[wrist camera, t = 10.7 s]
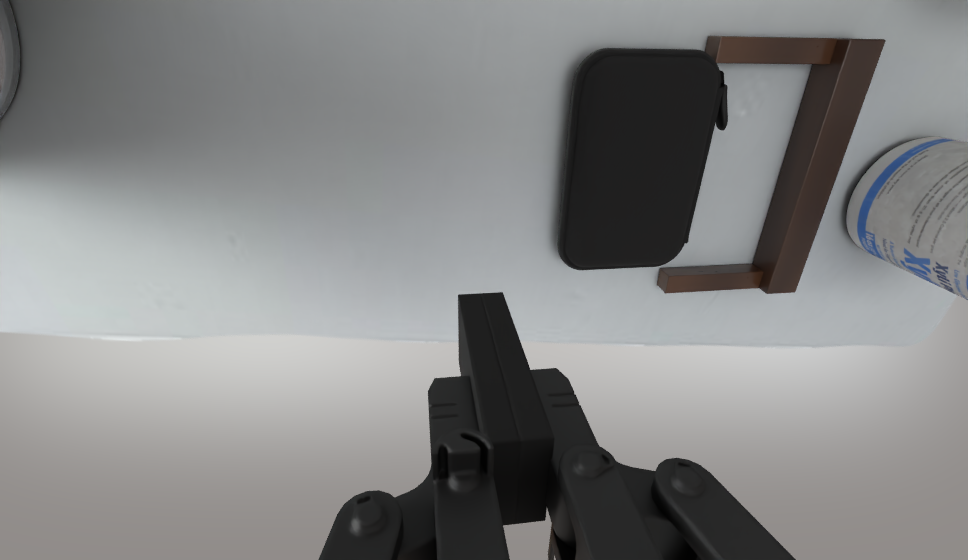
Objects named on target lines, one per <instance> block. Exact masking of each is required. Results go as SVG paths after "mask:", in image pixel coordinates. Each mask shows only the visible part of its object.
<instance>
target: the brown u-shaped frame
mask: <svg viewBox="0 0 968 560" xmlns="http://www.w3.org/2000/svg"><path fill="white" fill-rule="evenodd" d="M884 43H885V40H884V39H844V38H790V37H737V36H708V39H707V44H706V49H705V52H706V53H707V54H709V55H710V56H711V57H712V58H713V59H714V60H715V62H716V63H753V64H813V66H812V69H811V73H810V76H809V79H808V83H807V86H806V89H805V93H804V96H803V99H802V102H801V106H800V109H799V112H798V116H797V119H796V122H795V126H794V129H793V132H792V135H791V139H790V142H789V145H788V149H787V152H786V155H785V158H784V162H783V165H782V168H781V172H780V175H779V178H778V182H777V185H776V188H775V191H774V195H773V198H772V201H771V205H770V208H769V211H768V215H767V218H766V221H765V224H764V228H763V231H762V234H761V238H760V241H759V244H758V247H757V251H756V254H755V257H754V261H753V264H737V265H717V266H696V267H675V268H660V272H659V277H658V281H657V285H658V286H659V287H660V288H661V289H662V290H663V291H664V292H665V293H678V292H696V291H714V290H732V289H750V288H760V289H761V290H762V291H764V292H765V293H767V294H773V293H790V292H795V291H796V288H797V286H798V283H799V280H800V277H801V274H802V272H803V269H804V266H805V263H806V260H807V258H808V255H809V252H810V249H811V247H812V244H813V241H814V238H815V235H816V233H817V230H818V227H819V224H820V222H821V219H822V216H823V213H824V210H825V208H826V205H827V202H828V199H829V196H830V194H831V191H832V188H833V185H834V183H835V180H836V177H837V174H838V171H839V169H840V166H841V163H842V160H843V158H844V155H845V152H846V149H847V146H848V144H849V141H850V138H851V135H852V132H853V130H854V127H855V124H856V121H857V119H858V116H859V113H860V110H861V107H862V105H863V102H864V99H865V96H866V94H867V91H868V88H869V85H870V82H871V80H872V77H873V74H874V71H875V68H876V66H877V63H878V60H879V57H880V55H881V52H882V49H883V46H884Z"/></svg>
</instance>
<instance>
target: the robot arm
mask: <svg viewBox="0 0 968 560" xmlns="http://www.w3.org/2000/svg"><path fill="white" fill-rule="evenodd" d="M19 71H20V45H19V38H18V32H17V27H16V23H15V19H14V15H13V12H12V9H11V6H10V3H9V1H8V0H0V118H1V117H2V116H3V114H4V113H5V112H6V110H7V108H8V106H9V105H10V103H11V101H12V99H13V96H14V93H15V91H16V88H17V83H18V79H19ZM458 321H459V365H460V372H461V376H460V377H447V378H435V379H434V381H433V383H432V384H431V386H430V388H429V390H428V402H429V422H430V423H429V424H430V443H431V462H432V464H431V470H430V472H429V474H428V476H427V477H426V479H425V480H424V481H423V483H421V484H420V485H419V486H418V487H416V488H415V489H413V490H411V491H410V492H407V493H405V494H402V495H400V496H397V497H395V498H394V497H393V496H392V495H391V494H389V493H385V492H382V491H367V492H364V493H361V494H359V495H356V496H354V497H353V498H352V499H350V500H349V501H348V502H346V503H345V504H344V505H343V507H342V508H341V510H340V511H339V513H338V514H337V517H336V519H335V521H334V524H333V526H332V529H331V531H330V534H329V536H328V538H327V541H326V543H325V546H324V548H323V550H322V553H321V555H320V558H319V560H510V559H509V554H508V549H507V544H506V539H505V533H504V528H503V525H510V524H519V523H527V522H536V521H544V520H545V517H546V508H548V512H549V515H550V518H551V522H552V527H551V535H550V542H549V550H548V560H554V554H555V558H556V560H796V559H794V558H793V557H792V555H790V553H789V552H788V551H787V550H786V549H785V548H783V546H782V545H781V544H780V543H779V542H778V541H777V540H776V539H775V538H774V537H773V536H772V535H771V534H770V533H769V532H768V531H767V530H766V529H765V528H764V527H763V526H762V525H761V524H760V523H759V522H758V521H757V520H756V519H755V518H754V517H753V516H752V515H751V514H750V513H749V512H748V511H747V510H746V509H745V508H744V507H743V506H742V505H741V504H740V503H739V502H738V501H737V500H736V499H735V498H734V497H733V496H732V495H731V494H730V493H729V492H728V491H727V490H726V489H725V488H724V486H722V484H721V483H720V482H718V480H717V479H716V478H714V476H713V475H712V474H711V473H710V472H708V471H707V470H706V469H704V468H703V467H702V466H701V465H699V464H696V463H694V462H692V461H690V460H686V459H680V458H672V459H666V460H664V461H663V462H661V463H660V464H659V465H658V467H657V469H656V471H651V470H644V469H639V468H633V467H629V466H626V465H623V464H620V463H618V462H616V461H615V459H614V457H613V456H612V455H611V454H610V453H609V452H608V451H606V450H605V449H603V448H602V447H600V446H599V445H598V443H597V441H596V439H595V436H594V434H593V432H592V430H591V428H590V426H589V423H588V421H587V419H586V417H585V415H584V413H583V410H582V408H581V406H580V405H579V402H578V399H577V397H576V395H574V391H573V388H572V386H571V384H570V382H569V380H568V378H567V377H565V376H564V375H563V374H562V373H561V372H560V371H559V370H558V369H556V368H551V369H538V370H530V368H529V365H528V362H527V359H526V357H525V354H524V351H523V348H522V345H521V342H520V340H519V337H518V334H517V331H516V328H515V326H514V323H513V320H512V317H511V314H510V312H509V309H508V306H507V303H506V300H505V298H504V295H503V292H500V293H482V294H463V295H458Z"/></svg>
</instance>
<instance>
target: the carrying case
mask: <svg viewBox="0 0 968 560" xmlns="http://www.w3.org/2000/svg"><path fill="white" fill-rule="evenodd" d="M715 122H716V125H717V128H718V129H720V130H724V129H725V128H726V126H727V122H728V112H727V85H725V84H724V73H723V72H722V71H720V70H719V67H718V65H717V63H716V62H715V60H714V59H713V58H712V57H711V56H710V55H709V54H707V53H706V52H703V51H701V50H687V49H627V48H605V49H600V50H597V51H595V52H593V53H592V54H590V55H589V56H588V57H587V58H586V59H584V61H583V62H582V63H581V64H580V66H579V68H578V69H577V71H576V73H575V77H574V81H573V87H572V96H571V105H570V115H569V126H568V137H567V147H566V158H565V168H564V179H563V189H562V199H561V210H560V220H559V230H558V253H559V255H560V257H561V259H562V260H563V261H564V263H565V264H566V265H568V266H569V267H571V268H573V269H577V270H595V269H615V268H637V267H656V266H661V265H664V264H666V263H668V262H669V261H671V260H672V259H674V258H675V257H676V256H677V255H678V254H679V252H680V251H681V250H682V248H683V246H684V243H687V242H688V238H689V232H690V228H691V224H692V219H693V215H694V211H695V207H696V202H697V198H698V194H699V190H700V186H701V181H702V177H703V173H704V169H705V164H706V160H707V156H708V152H709V147H710V143H711V139H712V135H713V131H714V126H715Z"/></svg>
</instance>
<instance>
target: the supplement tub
mask: <svg viewBox="0 0 968 560" xmlns="http://www.w3.org/2000/svg"><path fill="white" fill-rule="evenodd" d="M847 228H848V232H849V235H850V237H851V238H852V240H853V241H854V243H855V244H856V245H857V246H859V247H860V248H861V249H863V250H864V251H866V252H868V253H871V254H872V255H874V256H877V257H879V258H881V259H883V260H885V261H887V262H889V263H891V264H893V265H896V266H898V267H900V268H902V269H904V270H906V271H908V272H910V273H912V274H914V275H917V276H919V277H921V278H923V279H925V280H927V281H929V282H931V283H933V284H935V285H937V286H940V287H942V288H944V289H946V290H948V291H950V292H952V293H954V294H956V295H958V296H961V297H963V298H965V299H967V300H968V142H964V141H958V140H953V139H948V138H942V137H926V138H920V139H916V140H913V141H909V142H906V143H904V144H902V145H900V146H898V147H896V148H894V149H892V150H891V151H889V152H888V153H886V154H885V155H883V156H882V157H881V158H880V159H879V160H877V161H876V162H875V163H874V164H873V165H872V166H871V167H870V168H869V169H868V171H867V172H866V173H865V174H864V176H863V177H862V178H861V180H860V181H859V183H858V184H857V186H856V188H855V190H854V192H853V194H852V196H851V199H850V202H849V205H848V210H847Z"/></svg>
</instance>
